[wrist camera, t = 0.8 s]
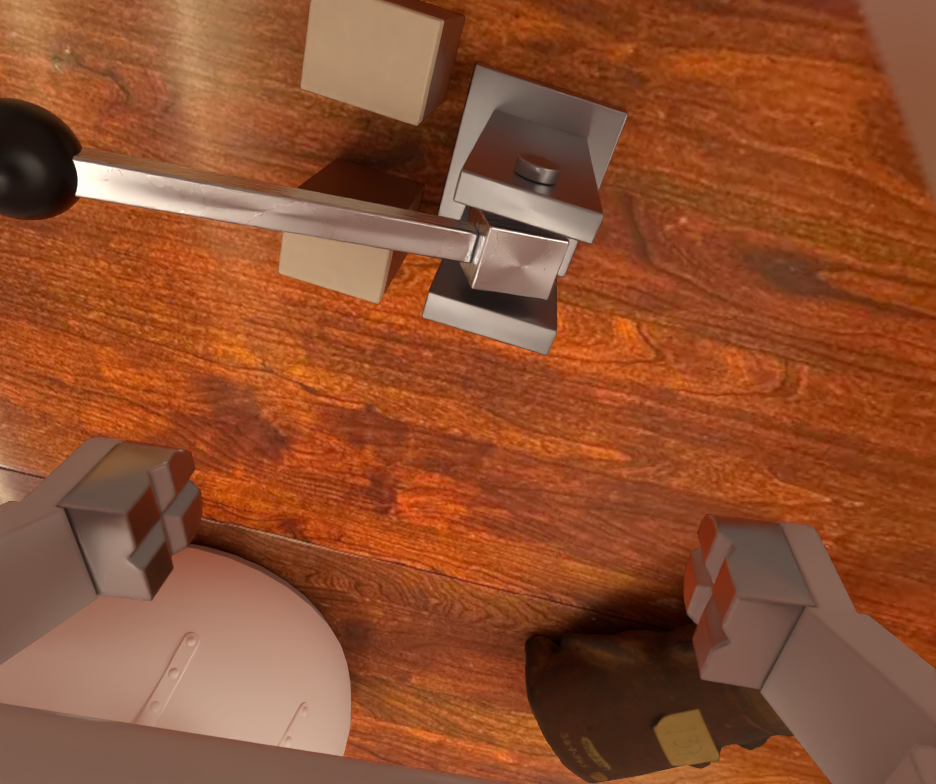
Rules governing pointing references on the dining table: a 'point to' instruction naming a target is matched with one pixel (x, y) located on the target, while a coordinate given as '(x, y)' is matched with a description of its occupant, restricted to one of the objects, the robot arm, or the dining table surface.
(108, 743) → the robot arm
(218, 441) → the dining table surface
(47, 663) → the pot
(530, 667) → the dark brown bag
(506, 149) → the bracket
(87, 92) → the dining table surface
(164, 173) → the black ball knob lever
